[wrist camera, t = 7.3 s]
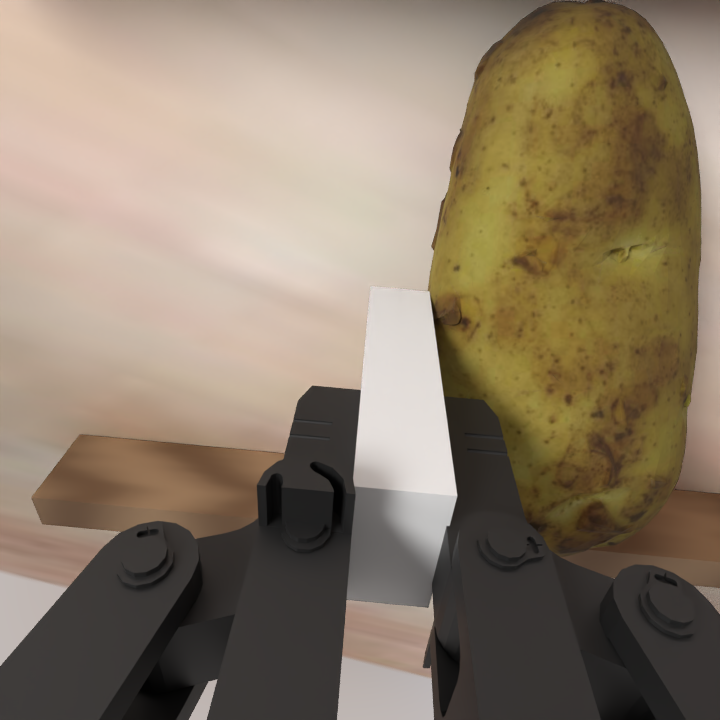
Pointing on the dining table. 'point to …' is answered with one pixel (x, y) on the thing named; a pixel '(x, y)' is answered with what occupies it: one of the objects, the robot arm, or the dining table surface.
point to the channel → (240, 506)
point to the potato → (575, 267)
